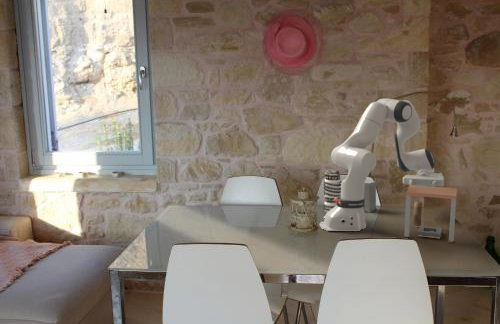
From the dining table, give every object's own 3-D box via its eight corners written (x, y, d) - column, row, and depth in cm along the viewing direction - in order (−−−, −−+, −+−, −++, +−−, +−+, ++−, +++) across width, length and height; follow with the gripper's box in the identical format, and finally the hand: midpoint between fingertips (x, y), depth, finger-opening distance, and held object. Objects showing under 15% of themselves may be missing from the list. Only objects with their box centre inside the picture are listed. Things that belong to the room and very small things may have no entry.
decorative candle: (342, 220, 272) (343, 172, 267) (324, 220, 272) (324, 172, 267) (339, 215, 280) (340, 168, 276) (322, 215, 281) (322, 168, 276)
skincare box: (370, 212, 285) (370, 183, 282) (357, 210, 289) (358, 182, 286) (376, 209, 291) (377, 180, 288) (364, 207, 295) (365, 179, 293)
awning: (407, 228, 257) (409, 184, 253) (454, 233, 249) (457, 188, 245) (404, 238, 243) (406, 192, 239) (453, 243, 235) (456, 195, 231)
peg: (415, 228, 258) (416, 203, 256) (412, 225, 261) (413, 202, 259) (422, 227, 258) (423, 203, 256) (418, 225, 262) (420, 201, 259)
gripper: (404, 171, 283) (400, 177, 271) (445, 172, 275) (443, 179, 263) (403, 182, 284) (400, 189, 272) (444, 184, 276) (443, 191, 264)
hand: (421, 184), depth 267 cm, fingers open, 8 cm apart
